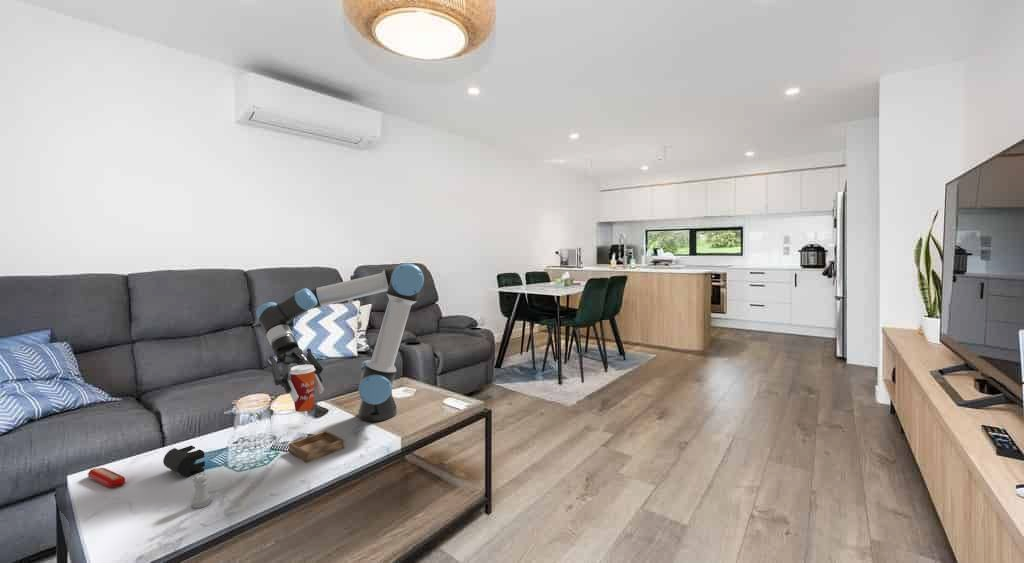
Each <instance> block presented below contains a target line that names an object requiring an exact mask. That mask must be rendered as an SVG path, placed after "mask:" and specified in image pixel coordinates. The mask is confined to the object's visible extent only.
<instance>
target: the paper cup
mask: <svg viewBox="0 0 1024 563" xmlns="http://www.w3.org/2000/svg"><path fill="white" fill-rule="evenodd" d="M289 370H290V371H288V374H289V375H290V380H291V381H292V384H293V386H294V388H295V390H296V392H297V394H298V396H299V397H298V399H297V401H296V402H294V401H293V403H294V404H293V405H294V410H295V412H299V413H302V412H308V411H310V410H313V409H314V408H315V385H314V371H315V368H314V366H313V365H309V364H306V365H295V366H292V367H290V369H289Z"/></svg>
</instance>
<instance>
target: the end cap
mask: <svg viewBox="0 0 1024 563" xmlns="http://www.w3.org/2000/svg"><path fill="white" fill-rule="evenodd" d="M195 449H196V447H195V446H194V445H189V446H185V447H182V448H180V449H178V448H176V447H174V448H171V449H170V450H168V451H167V452H166V454H165V455H164V457H163V460H162V462H163V465H164V467H165V468H167V469H170V470H171V471H173V472H174V473H176V474H177V475H180V476H182V477H185V478H190V477H192V476H196V475H197V474H198V475H199V473H204V472H206V471H205V466H206V461H204V460H203V461H201V462H199V463H197V461H199V460H200V459H203V458H205V451H204V450H201V449H196V450H195ZM192 450H194V451H192Z"/></svg>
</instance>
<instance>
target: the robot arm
mask: <svg viewBox="0 0 1024 563" xmlns="http://www.w3.org/2000/svg"><path fill="white" fill-rule="evenodd" d="M424 277H425V276H424V273H423V270H421V268H420V267H419V266H417V265H416V264H413V263H408V262H405V263H400V264H398V265H397V266H393V267H391V268H388V269H383V270H382V271H381V273H376V274H372V275H368V276H363V277H359V278H354V279H350V280H345V281H341V282H336V283H333V284H329V285H324V286H320V287H316V288H311V289H309V288H307V287H304V288H301V290H300V289H299V291H296V292H295V293H294V294H292V295H290V296H288V297H287V298H285V299H283V300H282V301H281V302H279V303H276V302H273V301H270V302H267V303H263V304H261V305H260V306H258V307H257V309H256V311H255V313H256V316H257V319H258V322H259V324H260V326H261V327H262V329H263V331H264V334H265V336H266V338H267V340H268V343H269V344H270V346H271V349H272V351H273V353H274V355H275V356H274V355H270V356H269V357H268V360H267V364H268V365H269V366H270V369H271V373H272V377H273V382H274V385H275V386H279V385H280V387H282V388H284V391H285V392H286V393H287V394H290V397H291V399H292V401H293V403H294V402H296V401H297V399H298V397H299V396H298V394H297V392H296V390H295V388H294V386H293V384H292V381H291V379H289V366H291V365H295V364H296V366H298V365H306V364H309V365H313V366H314V368H315V371H314V387H315V389H316V391H317V392H318V395H321V394H323V392H324V390H325V387H324V386H323V384H322V382H323V379H322V377H321V374H322V372H323V370H324V368H323V367H322V366H321V364H320V363H319V361H318V360H317V359H316V357H315V356H314V355H313V354H312V350H311V348H307V349H302V348H300V345H299V343H298V342H297V340H296V337H295V335H294V333H293V331H292V330H291V328H290V325H289V323H290V322H292V321H294V319H297V318H298V317H300V316H302V315H303V314H305V313H306V312H308V311H310V310H313V309H317V308H321V307H325V306H328V305H334V304H338V303H342V302H346V301H350V300H355V299H359V298H362V297H367V296H371V295H376V294H380V293H384V292H386V296H387V297H388V302H387V305H386V309H385V312H384V315H383V319H382V322H381V327H380V329H379V333H378V336H377V340H376V342H375V345H374V350H373V353H372V357H371V359H367V360H364V361H362V362H361V368H360V369H361V378H360V381H359V382H360V383H359V384H358V388H357V389H358V390H357V391H358V396H359V397H360V398H361V402H360V406H359V409H358V411H357V412H358V414H357V415H358V417H357V418H358V419H359V420H360V421H364V422H380V421H385V420H389V419H391V418H394V417H395V416H396V415H397V412H398V410H397V405H396V402H395V399H394V397H393V382H394V380H395V377H396V373H397V368H396V366H395V362H396V359H397V356H398V352H399V349H400V345H401V342H402V338H403V334H404V331H405V328H406V325H407V323H408V322H407V321H408V318H409V315H410V312H411V308H412V305H414V304H415V303H417V302H418V299H419V295H420V292H421V290H422V288H423V286H424V282H425V278H424ZM278 362H280V363H281V368H282V372H280V369H279V365H278ZM281 374H282V375H281Z"/></svg>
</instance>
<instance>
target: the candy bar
mask: <svg viewBox="0 0 1024 563" xmlns="http://www.w3.org/2000/svg"><path fill="white" fill-rule="evenodd" d="M87 475H88V476H87V477H89V479H91V480H92V481H95V482H97V483H99V484H101V485H103V486H105V487H108V488H115V487H120V486H123V485H125V484H126V483H127V482H126V478H125V476H122V475H121V474H119V473H117V472H114V471H112V470H110V469H107V468H105V467H97V468H93V469H90V471H89V472H88V473H87Z"/></svg>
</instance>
